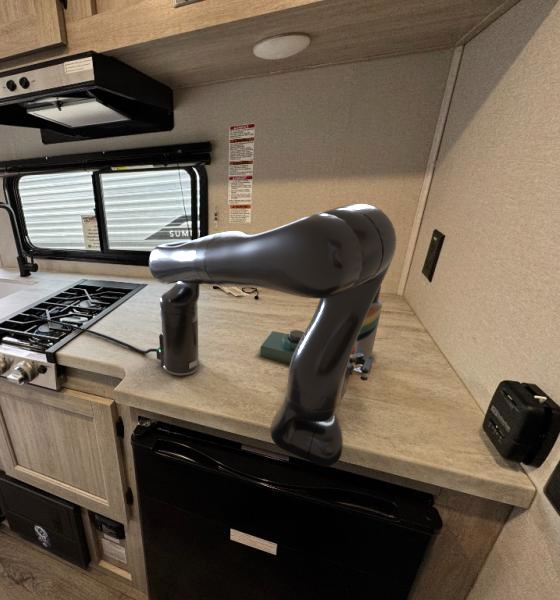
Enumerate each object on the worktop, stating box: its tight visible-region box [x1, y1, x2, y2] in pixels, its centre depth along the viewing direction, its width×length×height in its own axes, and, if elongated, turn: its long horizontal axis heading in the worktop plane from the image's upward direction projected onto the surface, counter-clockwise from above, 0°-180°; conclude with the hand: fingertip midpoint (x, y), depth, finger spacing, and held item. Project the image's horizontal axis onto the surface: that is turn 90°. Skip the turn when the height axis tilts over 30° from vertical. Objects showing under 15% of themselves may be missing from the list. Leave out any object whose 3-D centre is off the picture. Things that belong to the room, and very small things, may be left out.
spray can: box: [354, 284, 383, 357], centre depth 82 cm, size 6×6×20 cm
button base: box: [259, 330, 298, 365], centre depth 87 cm, size 12×10×5 cm
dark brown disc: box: [288, 329, 305, 343], centre depth 85 cm, size 4×4×2 cm
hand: (338, 344), depth 76 cm, fingers open, 8 cm apart
